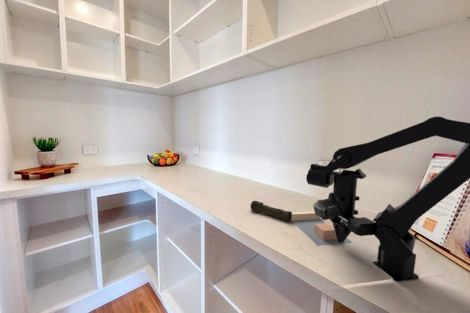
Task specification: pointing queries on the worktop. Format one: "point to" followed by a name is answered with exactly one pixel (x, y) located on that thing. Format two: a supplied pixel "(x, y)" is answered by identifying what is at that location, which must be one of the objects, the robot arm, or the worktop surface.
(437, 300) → the worktop surface
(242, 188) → the worktop surface
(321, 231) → the salmon brown block
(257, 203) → the hand tool
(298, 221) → the slate mat
